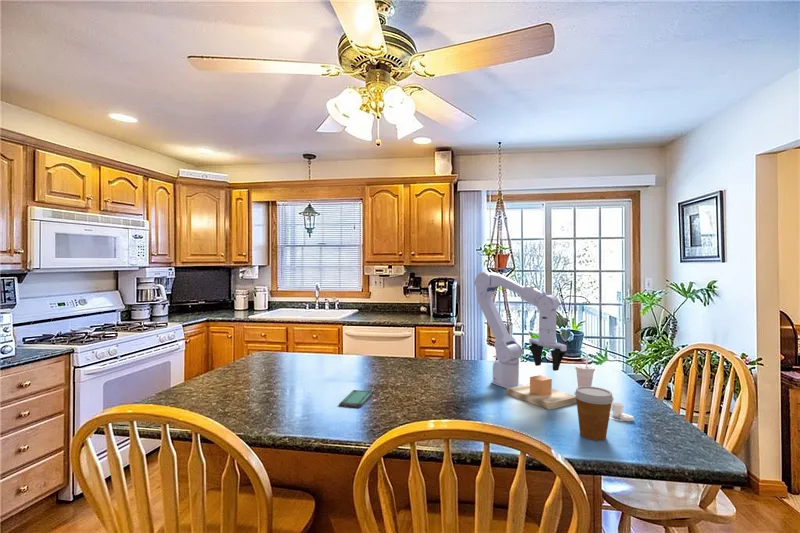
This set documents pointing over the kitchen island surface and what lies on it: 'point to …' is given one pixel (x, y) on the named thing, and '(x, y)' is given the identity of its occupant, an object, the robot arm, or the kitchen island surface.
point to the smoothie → (584, 374)
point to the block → (540, 385)
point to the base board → (542, 397)
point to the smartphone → (356, 399)
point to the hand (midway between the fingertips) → (546, 367)
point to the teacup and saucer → (620, 412)
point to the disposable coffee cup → (593, 411)
